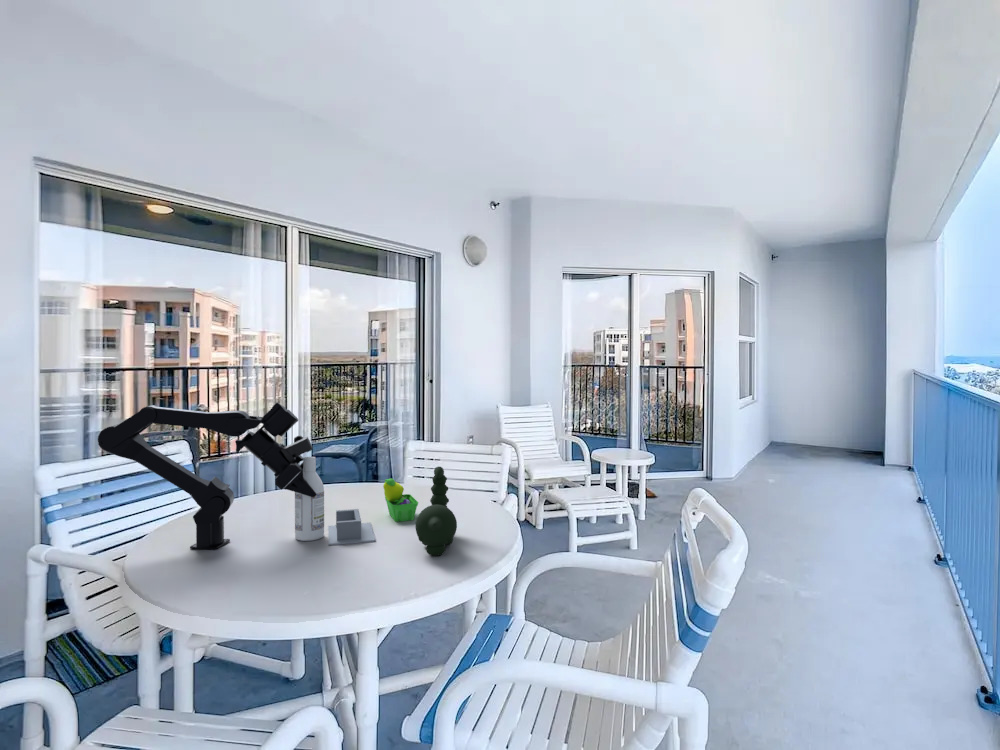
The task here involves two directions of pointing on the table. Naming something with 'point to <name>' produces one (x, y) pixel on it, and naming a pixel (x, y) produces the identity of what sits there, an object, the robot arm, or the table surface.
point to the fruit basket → (399, 501)
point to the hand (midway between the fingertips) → (315, 492)
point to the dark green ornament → (437, 518)
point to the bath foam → (310, 505)
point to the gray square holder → (349, 529)
